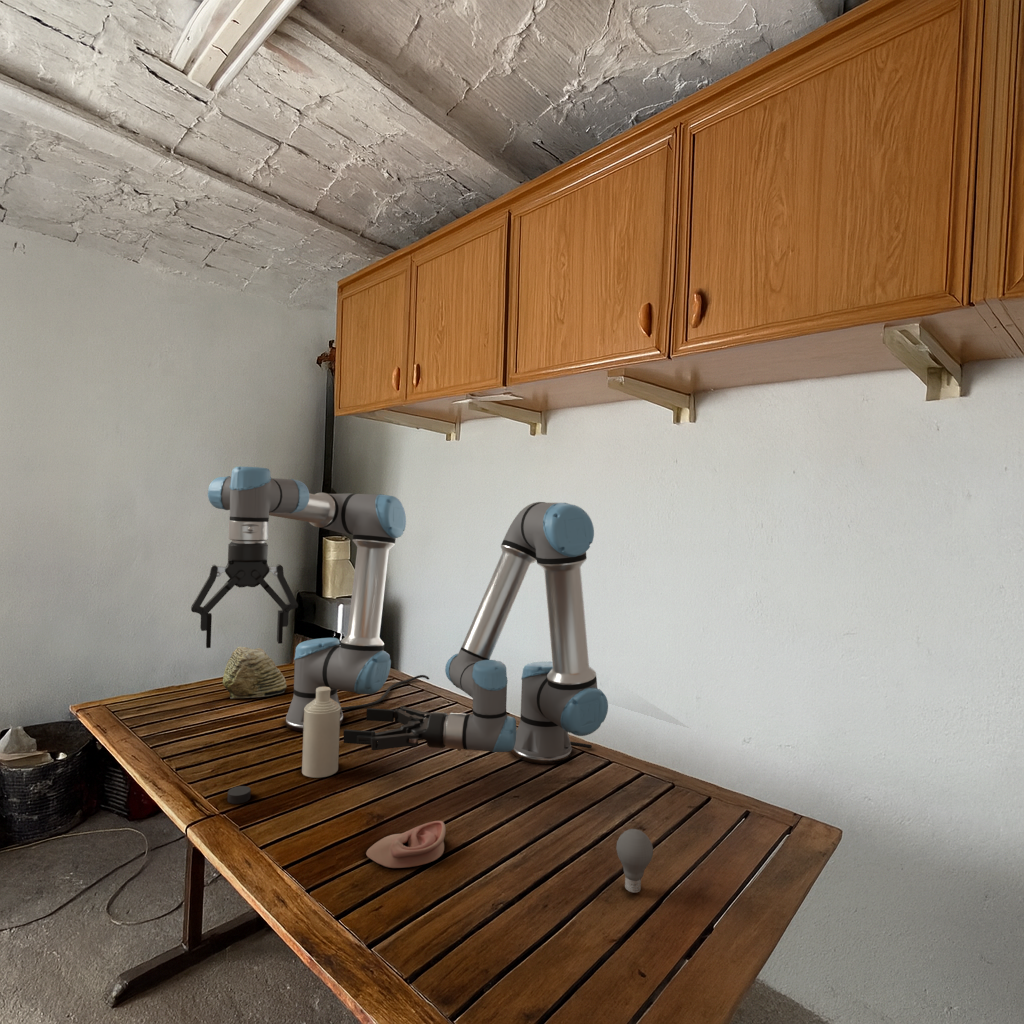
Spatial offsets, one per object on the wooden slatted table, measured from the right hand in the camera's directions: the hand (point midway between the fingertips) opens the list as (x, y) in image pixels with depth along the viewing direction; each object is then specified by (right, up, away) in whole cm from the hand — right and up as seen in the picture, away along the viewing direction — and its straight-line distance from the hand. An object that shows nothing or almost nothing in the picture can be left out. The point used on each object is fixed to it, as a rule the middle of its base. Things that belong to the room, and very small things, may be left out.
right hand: (356, 724), depth 145 cm
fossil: (-45, -9, +53) cm, 70 cm away
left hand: (-20, +21, -14) cm, 32 cm away
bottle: (-9, -11, +2) cm, 14 cm away
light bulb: (+56, -15, -39) cm, 70 cm away
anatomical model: (+17, -13, -30) cm, 37 cm away
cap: (-21, -10, -13) cm, 27 cm away
